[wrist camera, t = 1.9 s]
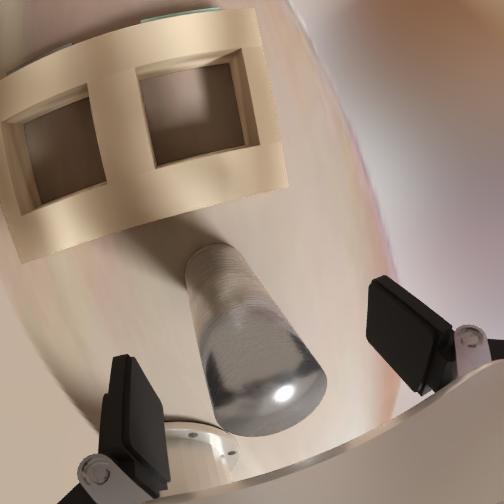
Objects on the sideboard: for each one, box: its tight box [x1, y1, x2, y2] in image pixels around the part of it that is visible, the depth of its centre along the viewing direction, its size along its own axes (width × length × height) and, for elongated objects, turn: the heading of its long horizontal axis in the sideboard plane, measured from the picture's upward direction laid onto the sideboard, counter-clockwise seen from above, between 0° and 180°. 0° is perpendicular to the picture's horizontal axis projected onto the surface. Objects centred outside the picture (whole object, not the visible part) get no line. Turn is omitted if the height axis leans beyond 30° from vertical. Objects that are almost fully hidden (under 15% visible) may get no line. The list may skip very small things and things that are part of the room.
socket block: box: [0, 7, 289, 264], centre depth 13 cm, size 15×10×3 cm
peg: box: [185, 244, 327, 437], centre depth 14 cm, size 4×4×11 cm
